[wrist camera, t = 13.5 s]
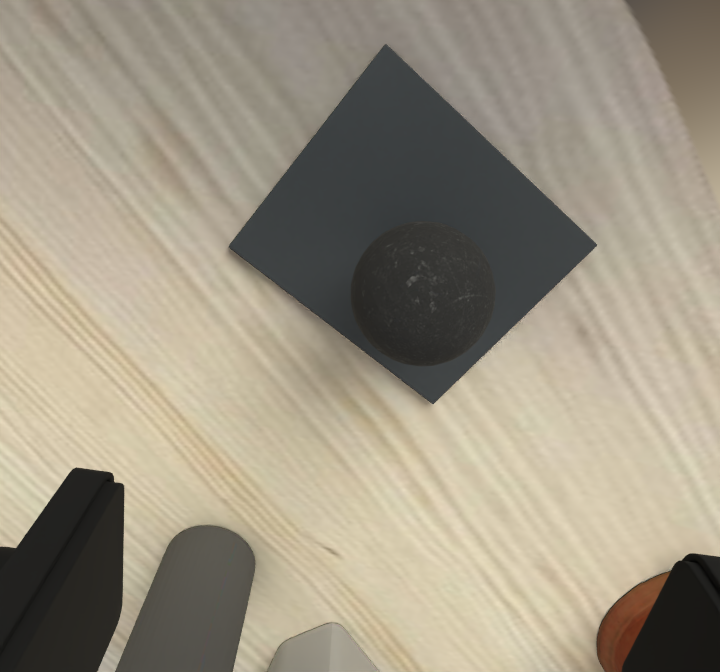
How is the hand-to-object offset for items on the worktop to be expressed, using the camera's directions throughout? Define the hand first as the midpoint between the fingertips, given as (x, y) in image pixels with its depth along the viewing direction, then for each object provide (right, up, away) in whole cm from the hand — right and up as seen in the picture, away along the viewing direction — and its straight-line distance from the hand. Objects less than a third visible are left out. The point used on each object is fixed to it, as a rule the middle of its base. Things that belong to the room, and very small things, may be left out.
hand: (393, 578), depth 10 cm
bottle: (-10, -10, +29) cm, 33 cm away
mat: (+2, +9, +20) cm, 22 cm away
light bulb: (+2, +9, +20) cm, 22 cm away
